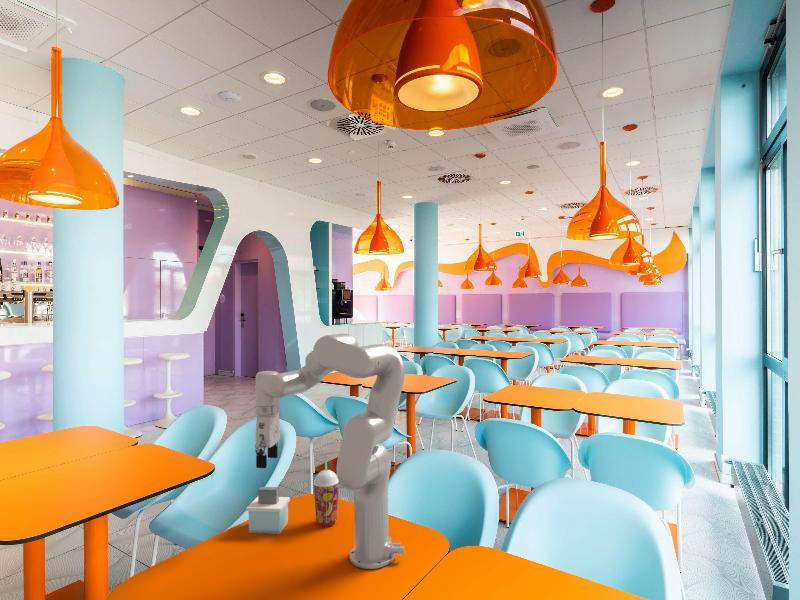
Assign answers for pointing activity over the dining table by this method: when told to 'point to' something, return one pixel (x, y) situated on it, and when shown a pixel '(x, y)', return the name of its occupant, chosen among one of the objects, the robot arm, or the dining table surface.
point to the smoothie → (326, 497)
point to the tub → (268, 521)
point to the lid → (268, 500)
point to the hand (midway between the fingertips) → (267, 462)
